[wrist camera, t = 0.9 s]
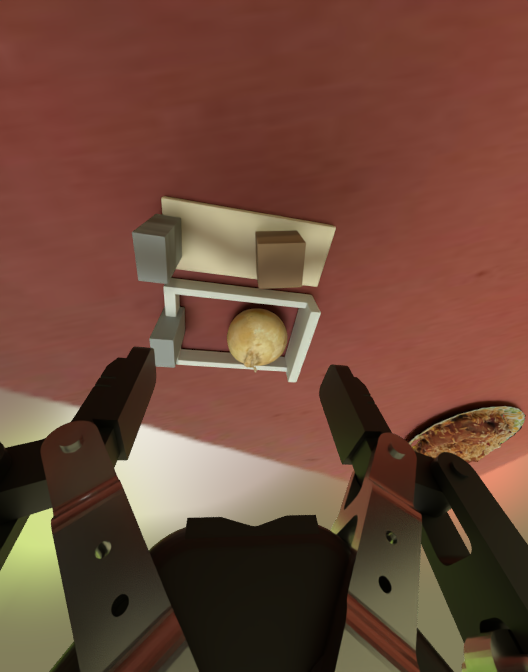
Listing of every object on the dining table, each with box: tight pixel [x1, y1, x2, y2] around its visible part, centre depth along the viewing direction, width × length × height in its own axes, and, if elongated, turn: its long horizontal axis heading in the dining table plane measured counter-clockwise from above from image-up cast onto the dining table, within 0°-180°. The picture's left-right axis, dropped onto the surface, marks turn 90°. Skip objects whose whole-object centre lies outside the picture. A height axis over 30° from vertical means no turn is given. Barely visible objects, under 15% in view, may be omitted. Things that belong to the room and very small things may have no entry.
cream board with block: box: [132, 196, 336, 287], centre depth 25 cm, size 7×19×8 cm, turn 80°
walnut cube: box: [255, 230, 306, 289], centre depth 26 cm, size 4×4×4 cm
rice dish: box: [409, 406, 525, 463], centre depth 58 cm, size 28×28×5 cm
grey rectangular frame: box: [150, 278, 321, 382], centre depth 32 cm, size 12×19×7 cm, turn 80°
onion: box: [227, 308, 287, 372], centre depth 32 cm, size 8×8×7 cm
